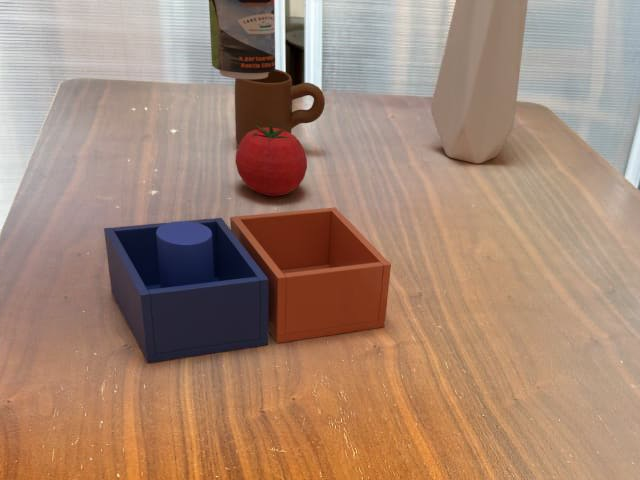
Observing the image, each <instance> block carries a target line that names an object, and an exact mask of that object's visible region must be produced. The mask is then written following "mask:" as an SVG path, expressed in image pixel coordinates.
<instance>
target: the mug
mask: <svg viewBox="0 0 640 480" xmlns="http://www.w3.org/2000/svg"><path fill="white" fill-rule="evenodd" d="M234 80H235V81H234V117H235V118H234V120H235V121H234V123H235V143H236V147H238V146H239V144H240V142H241V140H242V139H243V138H244V136H245V135H246V134H247V133H249V132H250V131H253V130H256V129H260V128H258V127H257V126H259V127H261V128H269V126H270V125H272V127H273V128H278V129H281V130H282V129H285V130H284V131H286V132H289V133H291V134H292V129H294V128H295V127H297V126H299V125H301V124H310V123H313V122H315V121H317V120H318V119H319V118H320V117H321V115H322V114H323V113H324V110H325V105H326V101H325V95H324V92H323V91H322V89H321V88H320V87H319V86H317V85H315V84H314V83H311V82H302V83H299V84H296V85H293V78H292V76H291V74H289V73H288V72H286V71H284V70H282V69H281V70H280V69H276V68H275V70H274V71H272V72H269V73H268V77H266V78H263V79H236V78H234ZM307 96H310V97H312V98H313V102H312V105H311V107H310V108H307V109H297V110H293V101H294V100H297V99H300V98H303V97H307ZM255 125H256V126H255Z"/></svg>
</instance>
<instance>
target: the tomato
mask: <svg viewBox="0 0 640 480" xmlns="http://www.w3.org/2000/svg"><path fill="white" fill-rule="evenodd" d="M255 126H256V125H255ZM257 127H258V128H260V129H256V130H253V131H250V132H249V133H247V134H246V135H245V136H244V138H243V139H242V140H241V142H240V144H239V146H237V149H236V152H235V165H236V166H235V167H236V170H237V173H238V176H239V177H240V178H241V180H242V181H243V183H244V184H245V185H246V186H247V187H249V188H250V189H251V190H252V191H254V192H256V193H258V194H260V195H264V196H270V197H278V196H284V195H287V194H289V193H291V192H292V191H294V190H295V189H297V188H298V187H299V186H300V184H302V181H304V178H305V176H306V173H307V169H308V159H307V154H306V151H305V149H304V147H303V145H302V143H301V142H300V140H299V139H298V138H297V136H296V135H294V134H293V133H292V132H291V133H289V132H286V131H284V130H285V129H282V130H281V129H278V128H273V127H272V125H270V126H269V128H261V127H259V126H257Z"/></svg>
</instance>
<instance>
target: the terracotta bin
mask: <svg viewBox="0 0 640 480" xmlns="http://www.w3.org/2000/svg"><path fill="white" fill-rule="evenodd" d="M229 218H230V219H229V220H230V230H231V231H232V232H233V234H234V235H235V236H236V237H237V239H238V240H239V241H240V243H241V244H242V245H243V247H244V248H245V249H246V251H247V252H248V253H249V255H250V256H251V257H252V258H253V260H254V261H255V262H256V264H257V265H258V266H259V268H260V269H261V270H262V272H263V273H264V274H265V276H266V277H267V278H268V333H269V334H270V335H271V337H272V339H274V341H275V342H276V344H280V343H281V344H282V343H286V342H287V343H289V342H295V341H301V340H307V339H315V338H319V337H320V338H321V337H327V336H333V335H339V334H340V335H341V334H346V333H353V332H359V331H366V330H373V329H379V328H384V327H385V324H386V317H387V308H388V307H387V306H388V297H389V290H390V289H389V288H390V278H391V269H392V263H390V262H389V261H388V260H387V258H386V257H385V256H384V255H382V254H381V253H380V251H378V249H377V248H376V247H375V246H373V245H374V244H372V243H371V242H370V241H369V240H368V239H367V238H366V237H365V236H364V235H363V234H362V233H361V232H360V231H359V230H358V229H357V227H355V226H354V225H353V223H352V222H351V221H349V220H348V218H346V216H344V215H343V213H342V212H341V211H340V210H339V209H338V208H337V207H335V206H334V207H325V208H315V209H314V208H313V209H304V210H303V209H302V210H301V209H300V210H291V211H281V212H269V213H259V214H257V213H256V214H248V215H247V214H246V215H235V216H230V217H229Z"/></svg>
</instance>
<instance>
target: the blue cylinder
mask: <svg viewBox="0 0 640 480" xmlns="http://www.w3.org/2000/svg"><path fill="white" fill-rule="evenodd" d="M189 221H190V220H178V221H176V220H175V221H169V222H170V223H168V222H165V223H166V224H163V225H161V226H160V227H159V228H158V229H157V231H156V237H157V249H158V260H159V272H160V284H161V288H167V287H175V286H184V285H192V284H200V283H209V282H214V268H213V243H212V232H211V230H210V229H209V228H208V227H206V226H204V225H202V224H199V223H195V222H189Z"/></svg>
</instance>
